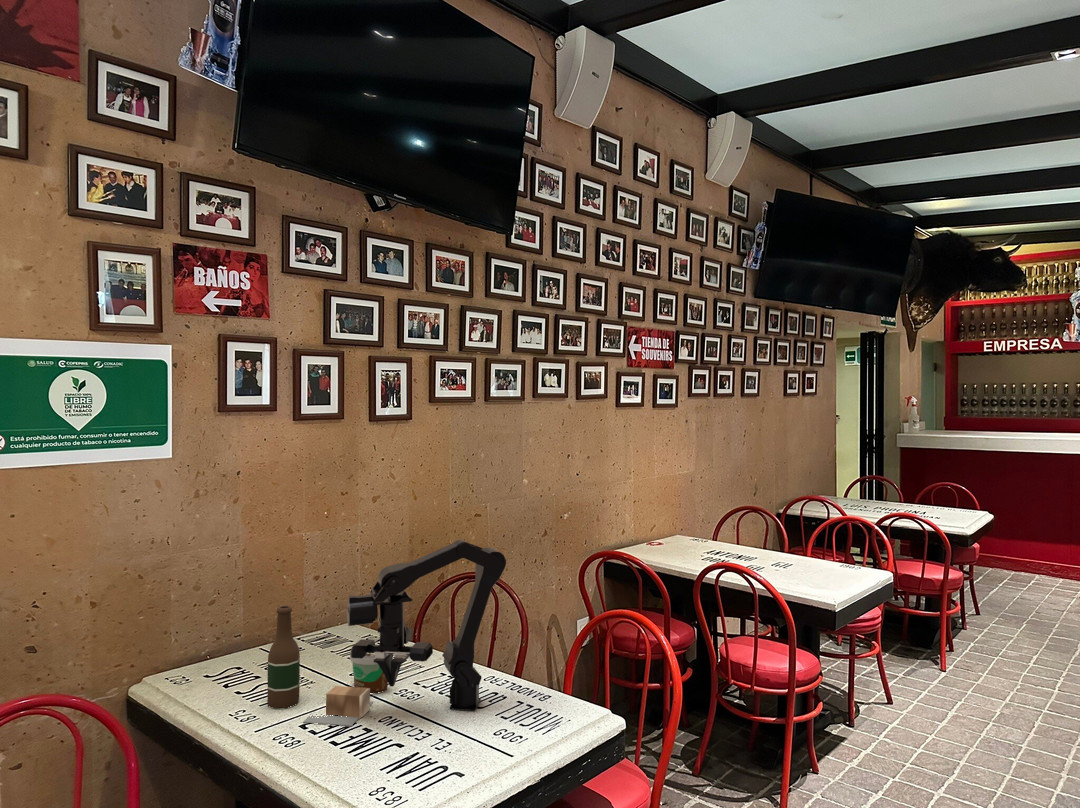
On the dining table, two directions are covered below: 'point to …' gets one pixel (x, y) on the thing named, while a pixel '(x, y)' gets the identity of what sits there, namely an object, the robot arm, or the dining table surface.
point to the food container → (368, 674)
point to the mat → (333, 719)
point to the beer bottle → (283, 664)
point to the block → (348, 701)
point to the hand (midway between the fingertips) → (392, 685)
